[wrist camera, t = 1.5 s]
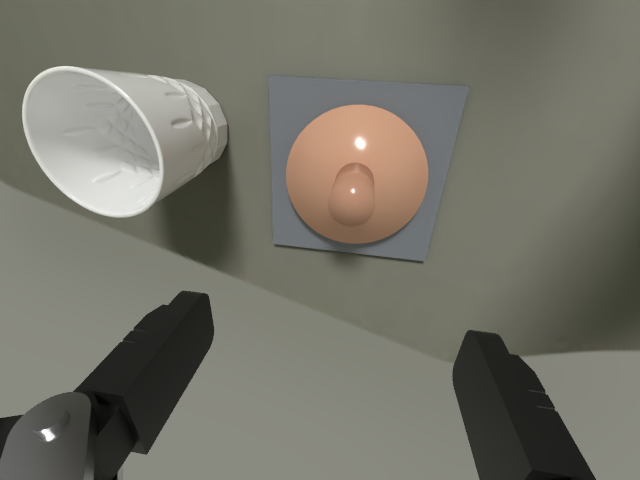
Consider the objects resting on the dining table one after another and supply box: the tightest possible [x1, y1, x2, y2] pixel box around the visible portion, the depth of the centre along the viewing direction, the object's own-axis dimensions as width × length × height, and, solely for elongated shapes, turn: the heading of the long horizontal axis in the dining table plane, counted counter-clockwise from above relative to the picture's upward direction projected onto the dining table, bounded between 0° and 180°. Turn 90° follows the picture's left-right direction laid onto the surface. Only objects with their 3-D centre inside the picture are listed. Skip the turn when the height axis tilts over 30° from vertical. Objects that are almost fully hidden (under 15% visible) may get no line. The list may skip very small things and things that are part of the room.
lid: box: [286, 104, 428, 244], centre depth 22 cm, size 11×11×6 cm
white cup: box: [22, 66, 227, 218], centre depth 21 cm, size 8×8×10 cm
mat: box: [268, 75, 469, 261], centre depth 25 cm, size 14×14×1 cm
